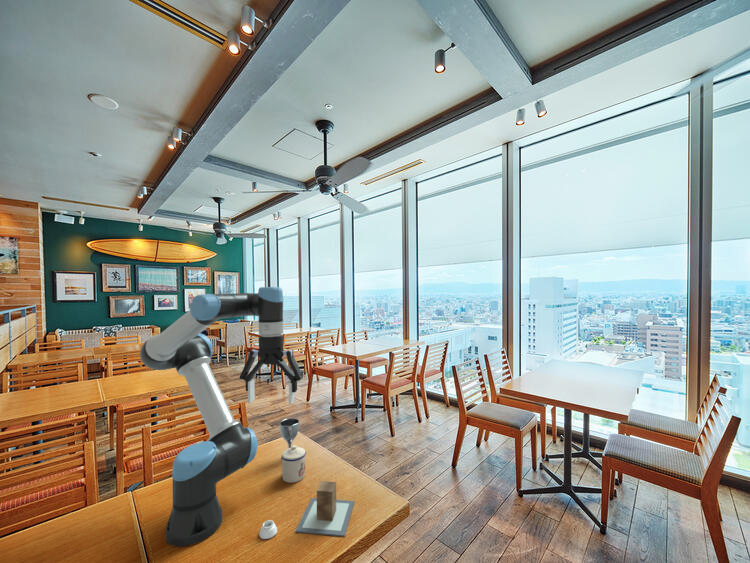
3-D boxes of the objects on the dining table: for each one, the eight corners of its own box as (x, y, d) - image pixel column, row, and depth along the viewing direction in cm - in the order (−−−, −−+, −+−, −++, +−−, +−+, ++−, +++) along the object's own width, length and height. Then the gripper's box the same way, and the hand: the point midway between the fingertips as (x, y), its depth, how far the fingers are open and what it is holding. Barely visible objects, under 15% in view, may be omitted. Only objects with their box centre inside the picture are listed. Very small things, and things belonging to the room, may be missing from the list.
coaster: (295, 532, 94) (295, 530, 94) (311, 499, 109) (311, 497, 109) (344, 536, 92) (344, 535, 92) (354, 502, 107) (354, 500, 107)
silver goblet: (276, 461, 134) (276, 425, 134) (285, 451, 141) (285, 417, 142) (294, 462, 132) (294, 426, 133) (302, 452, 140) (301, 418, 140)
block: (316, 520, 99) (316, 490, 99) (321, 508, 104) (321, 481, 104) (332, 521, 98) (332, 491, 98) (336, 509, 103) (336, 481, 103)
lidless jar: (260, 529, 96) (258, 542, 91) (260, 519, 96) (258, 531, 91) (277, 525, 97) (276, 538, 92) (277, 516, 97) (276, 528, 92)
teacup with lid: (303, 483, 118) (303, 451, 118) (279, 484, 118) (278, 452, 118) (309, 465, 130) (308, 436, 130) (286, 466, 130) (286, 437, 130)
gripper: (227, 336, 99) (228, 404, 99) (304, 337, 96) (304, 407, 95) (241, 333, 107) (241, 396, 106) (312, 333, 103) (312, 398, 103)
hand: (271, 401), depth 101 cm, fingers open, 13 cm apart
